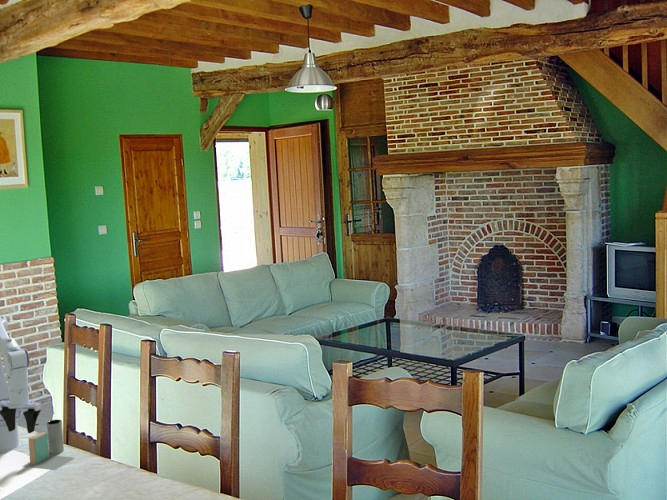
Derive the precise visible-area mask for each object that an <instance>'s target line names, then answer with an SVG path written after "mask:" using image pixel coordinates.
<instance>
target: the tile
mask: <svg viewBox="0 0 667 500" xmlns="http://www.w3.org/2000/svg"><path fill="white" fill-rule="evenodd" d="M28 450H29V462H30V464H37V463H39V462H41V461H43V460H45V459H46V458H48V457H49V455H50V453H49V447H48V432H45V431H43V432H42V431H40V432H39V433H37V434H35V435H32V436H31V437H29V438H28Z"/></svg>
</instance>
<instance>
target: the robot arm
mask: <svg viewBox="0 0 667 500" xmlns="http://www.w3.org/2000/svg"><path fill="white" fill-rule="evenodd" d="M8 330H9V324H8V319H7V318H6V317H5V315H0V453H1V452H3V453H10V452H12V451H14V450H16V449H18V448H20V447H22V446H24V445H25V444H26V443H25V442H20V438H19V437H20V436H19V427H18V425H19V424H18V423H19V421H20V418H21V417H22V416H24V420H25V422H26V429H27V433H28V434H31V433H33V432H35V429H36V428H35V427H36V423H37V420H38V416H39V415H40V413H41V411H42V403H41V402H36V401H33V400H30V393H29V379H28V368H29V367H30V364H31V363H30V362H31V361H30V354H29V351H28V350H27V348H21V347H20V345H19V344H18V342H17V341H16V340H15V338H13V337H9V335H8ZM2 359H3V361H2ZM6 376H7V377H6ZM23 410H25V411H23Z"/></svg>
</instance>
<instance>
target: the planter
mask: <svg viewBox="0 0 667 500" xmlns="http://www.w3.org/2000/svg"><path fill="white" fill-rule="evenodd" d="M46 429H47V434H48V449H49V455H58V454H61V453H63V452H64V451H65V446H64V431H63V421H62V420H61V419H51V420H49V421H47V422H46Z"/></svg>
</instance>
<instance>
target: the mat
mask: <svg viewBox="0 0 667 500" xmlns="http://www.w3.org/2000/svg"><path fill="white" fill-rule="evenodd" d="M74 459H76V457H74V456H62V455H54V454H49V457H48V458H46V459H45V460H43V461H41V462H39V463H37V464H30V461H29V462H26V464H24V465H22V466H21V467H23V468H31V469H33V468H34V469H43V470H53V471H56V470H58V469H59V468H61V467H63V466H64V465H66V464H68V463H70V462H71V461H73V460H74Z"/></svg>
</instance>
